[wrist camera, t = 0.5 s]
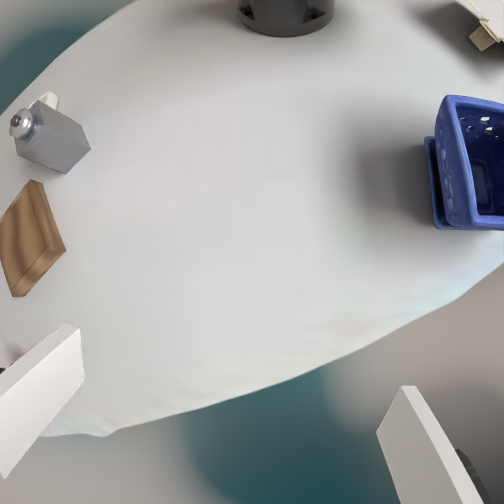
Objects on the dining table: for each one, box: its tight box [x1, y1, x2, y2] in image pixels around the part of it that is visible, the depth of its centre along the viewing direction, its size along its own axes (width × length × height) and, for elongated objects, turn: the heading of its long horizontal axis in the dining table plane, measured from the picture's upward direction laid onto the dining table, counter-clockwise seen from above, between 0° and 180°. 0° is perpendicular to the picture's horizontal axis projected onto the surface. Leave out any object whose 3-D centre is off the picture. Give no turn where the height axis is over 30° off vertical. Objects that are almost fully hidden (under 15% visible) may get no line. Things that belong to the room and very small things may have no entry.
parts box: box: [28, 91, 59, 111], centre depth 42 cm, size 8×6×3 cm
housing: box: [9, 100, 91, 174], centre depth 35 cm, size 6×6×14 cm
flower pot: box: [424, 95, 504, 231], centre depth 26 cm, size 13×13×12 cm
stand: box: [0, 180, 66, 297], centre depth 41 cm, size 14×14×3 cm
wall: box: [466, 0, 504, 51], centre depth 28 cm, size 16×9×15 cm
